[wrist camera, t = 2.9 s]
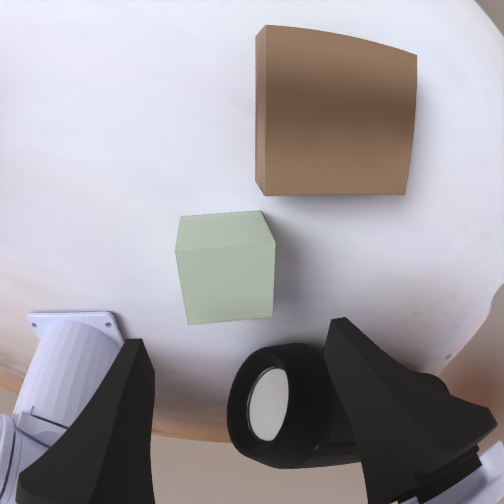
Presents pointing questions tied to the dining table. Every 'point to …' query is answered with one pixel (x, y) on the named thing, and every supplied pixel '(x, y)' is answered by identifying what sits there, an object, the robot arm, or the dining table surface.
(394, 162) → the walnut block
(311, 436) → the portable speaker
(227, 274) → the sage cube
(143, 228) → the dining table surface
